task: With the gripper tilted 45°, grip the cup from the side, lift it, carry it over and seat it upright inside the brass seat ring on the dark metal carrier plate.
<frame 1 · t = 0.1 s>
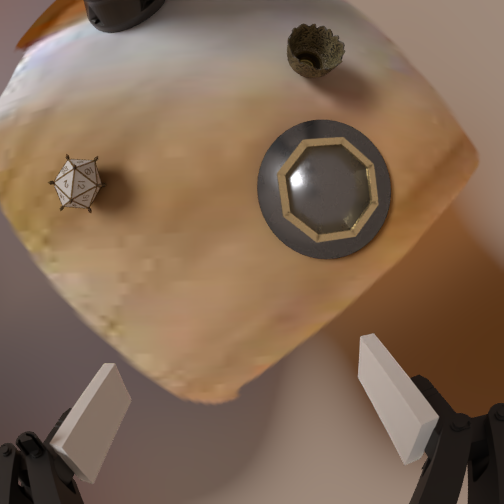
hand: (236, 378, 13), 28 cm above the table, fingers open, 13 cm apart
carrier plate: (327, 188, 39), on the table
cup: (304, 68, 35), on the table
game die: (91, 183, 38), on the table
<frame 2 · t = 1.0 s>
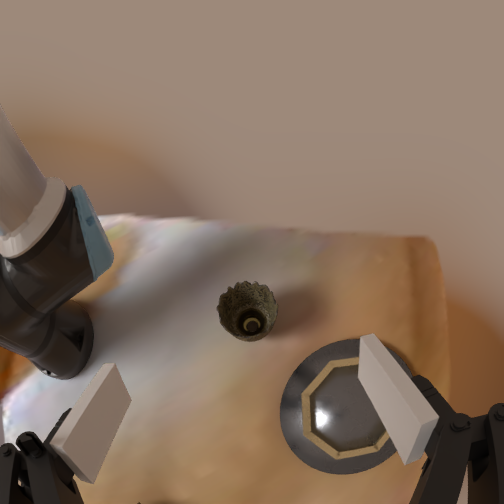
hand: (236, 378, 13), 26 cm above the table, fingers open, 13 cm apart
carrier plate: (351, 407, 33), on the table
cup: (252, 327, 41), on the table
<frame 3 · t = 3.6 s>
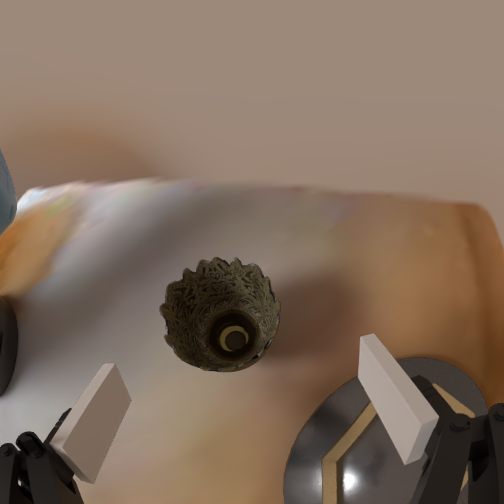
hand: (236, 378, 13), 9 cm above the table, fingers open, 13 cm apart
carrier plate: (400, 467, 15), on the table
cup: (235, 341, 23), on the table
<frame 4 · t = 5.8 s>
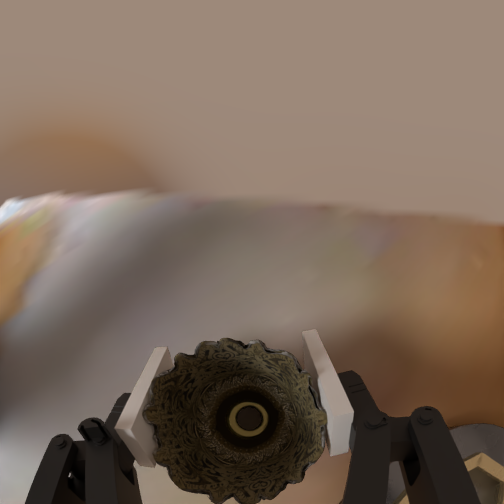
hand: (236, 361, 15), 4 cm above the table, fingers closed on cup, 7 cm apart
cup: (249, 418, 16), on the table, touching gripper
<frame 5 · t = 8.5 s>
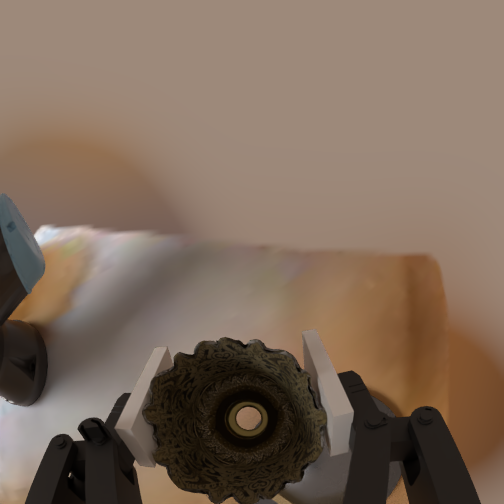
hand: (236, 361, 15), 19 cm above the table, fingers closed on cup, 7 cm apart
carrier plate: (325, 464, 25), on the table
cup: (249, 418, 16), point 15 cm above the table, touching gripper
when the fingers open (6 cm above the table, at t = 11.2 s): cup drops 1 cm, resting on carrier plate.
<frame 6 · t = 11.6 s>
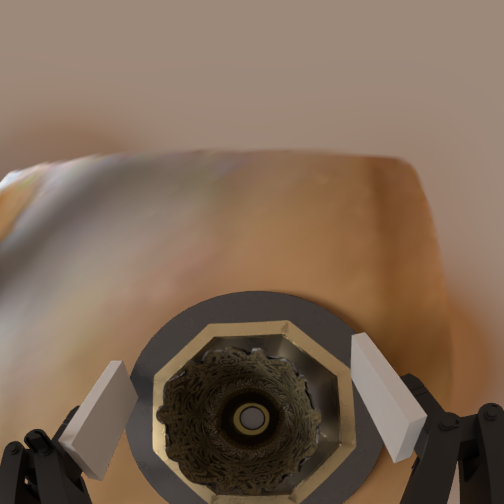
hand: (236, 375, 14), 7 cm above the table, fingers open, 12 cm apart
carrier plate: (252, 417, 18), on the table
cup: (252, 418, 17), point 1 cm above the table, touching carrier plate
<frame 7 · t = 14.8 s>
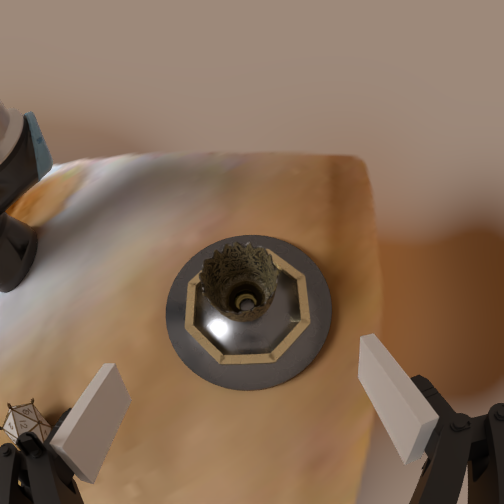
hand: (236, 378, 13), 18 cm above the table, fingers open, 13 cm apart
carrier plate: (247, 308, 34), on the table
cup: (247, 306, 33), point 1 cm above the table, touching carrier plate
game die: (45, 430, 25), on the table
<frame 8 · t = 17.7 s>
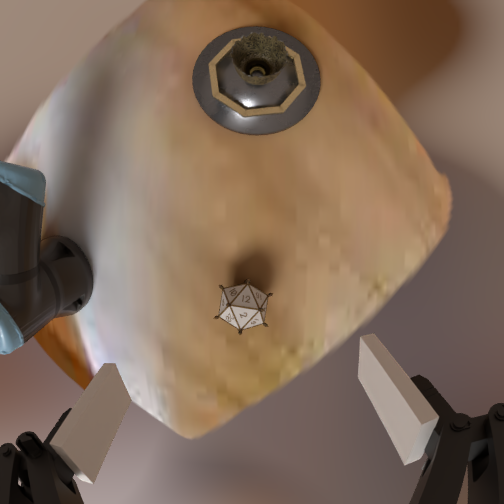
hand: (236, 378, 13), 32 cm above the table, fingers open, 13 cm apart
carrier plate: (256, 77, 38), on the table
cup: (257, 75, 37), point 1 cm above the table, touching carrier plate
game die: (243, 296, 46), on the table
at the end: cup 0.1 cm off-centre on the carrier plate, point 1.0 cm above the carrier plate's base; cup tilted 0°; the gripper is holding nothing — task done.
